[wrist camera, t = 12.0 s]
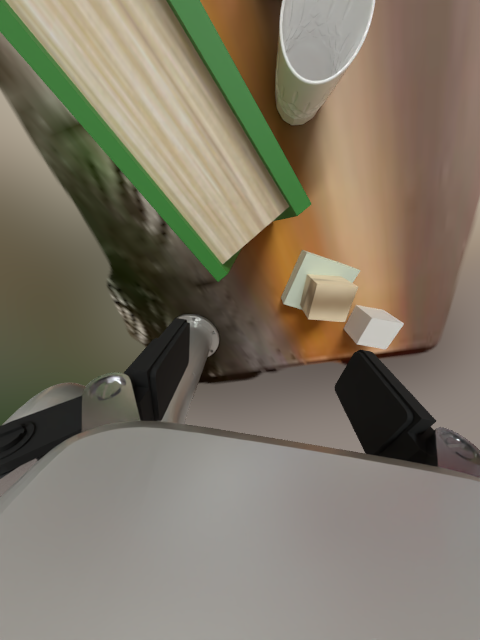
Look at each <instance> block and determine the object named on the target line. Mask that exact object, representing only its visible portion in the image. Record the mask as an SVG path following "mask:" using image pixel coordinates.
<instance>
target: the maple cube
mask: <svg viewBox="0 0 480 640" xmlns="http://www.w3.org/2000/svg"><path fill="white" fill-rule="evenodd" d="M357 289H358V286H356V285H354V284H353V283H351V282H350V281H348V280H346V279H345V278H343V277H342V276H330V275H314V274H307V276H306V281H305V285H304V289H303V294H302V298H301V303H300V306H301V307H302V309H303V311H304V313H305V315H306V317H307V318H308V319H312V320H325V321H338V322H345V320H346V318H347V315H348V313H349V310H350V307H351V305H352V302H353V299H354V297H355V294H356V291H357Z"/></svg>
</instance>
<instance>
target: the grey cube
mask: <svg viewBox="0 0 480 640" xmlns="http://www.w3.org/2000/svg"><path fill="white" fill-rule="evenodd" d="M403 324H404V323H402V322H401V321H399V320H398V319H396V318H395V317H393V316H392V315H390V314H389V313H387V312H386V311H384V310H381V309H375V308H370V307H364V306H359V305H356V306H355V308H354V310H353V312H352V313H351V315H350V317H349V319H348V321H347V323H346V325H345V327H344V330H345V331H346V332H347V334H348V335H349V336H350V337H351V338H352V339H353V341H354V342H355V343H356V344H358V345H364V346H369V347H375V348H381V349H387V347H388V346H389V345H390V343H391V342H392V340H393V339H394V337H395V336H396V335H397V333H398V332H399V330H400V329H401V327H402V326H403Z"/></svg>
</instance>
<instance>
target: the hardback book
mask: <svg viewBox="0 0 480 640" xmlns="http://www.w3.org/2000/svg"><path fill="white" fill-rule="evenodd" d="M0 32H1V33H2V34H3V35H4V36H5V38H6V39H7V40H8V41H9V42H10V43H11V44H12V46H13V47H14V48H15V49H16V50H17V51H18V53H19V54H20V55H21V56H22V57H23V58H24V59H25V61H26V62H27V63H28V64H29V65H30V66H31V67H32V69H33V70H34V71H35V72H36V73H37V74H38V76H39V77H40V78H41V79H42V80H43V81H44V82H45V84H46V85H47V86H48V87H49V88H50V89H51V90H52V92H53V93H54V94H55V95H56V96H57V97H58V99H59V100H60V101H61V102H62V103H63V104H64V105H65V107H66V108H67V109H68V110H69V111H70V112H71V114H72V115H73V116H74V117H75V118H76V119H77V120H78V122H79V123H80V124H81V125H82V126H83V127H84V128H85V130H86V131H87V132H88V133H89V134H90V135H91V137H92V138H93V139H94V140H95V141H96V142H97V143H98V145H99V146H100V147H101V148H102V149H103V150H104V151H105V153H106V154H107V155H108V156H109V157H110V158H111V160H112V161H113V162H114V163H115V164H116V165H117V166H118V168H119V169H120V170H121V171H122V172H123V173H124V174H125V176H126V177H127V178H128V179H129V180H130V181H131V183H132V184H133V185H134V186H135V187H136V188H137V189H138V191H139V192H140V193H141V194H142V195H143V196H144V197H145V199H146V200H147V201H148V202H149V203H150V204H151V206H152V207H153V208H154V209H155V210H156V211H157V212H158V214H159V215H160V216H161V217H162V218H163V219H164V221H165V222H166V223H167V224H168V225H169V226H170V227H171V229H172V230H173V231H174V232H175V233H176V234H177V235H178V237H179V238H180V239H181V240H182V241H183V242H184V244H185V245H186V246H187V247H188V248H189V249H190V250H191V252H192V253H193V254H194V255H195V256H196V257H197V258H198V260H199V261H200V262H201V263H202V264H203V265H204V267H205V268H206V269H207V270H208V271H209V272H210V273H211V275H212V276H213V277H214V278H215V279H216V280H217V281H218V282H219V281H220V280H221V279H222V278H223V277H225V276H226V275H227V274H228V272H229V271H230V269H231V267H232V265H233V263H234V262H235V260H236V258H237V256H238V254H239V253H240V251H241V249H242V247H243V246H244V245H246V244H247V243H248V242H249V241H250V240H251V239H253V238H254V237H255V236H256V235H257V234H258V233H259V232H261V231H262V230H263V229H264V228H265V227H266V226H267V225H269V224H270V223H271V222H272V221H276V220H281V219H285V218H290V217H295V216H298V215H299V214H300V213H301V212H303V211H304V210H305V209H306V208H307V207H309V206H310V205H311V202H310V200H309V198H308V197H307V195H306V193H305V191H304V189H303V188H302V186H301V184H300V182H299V180H298V178H297V177H296V175H295V173H294V171H293V169H292V168H291V166H290V164H289V162H288V160H287V158H286V157H285V155H284V153H283V151H282V149H281V148H280V146H279V144H278V142H277V140H276V138H275V137H274V135H273V133H272V131H271V129H270V127H269V126H268V124H267V122H266V120H265V118H264V117H263V115H262V113H261V111H260V109H259V107H258V106H257V104H256V102H255V100H254V98H253V97H252V95H251V93H250V91H249V89H248V87H247V86H246V84H245V82H244V80H243V78H242V77H241V75H240V73H239V71H238V69H237V67H236V66H235V64H234V62H233V60H232V58H231V57H230V55H229V53H228V51H227V49H226V47H225V46H224V44H223V42H222V40H221V38H220V36H219V35H218V33H217V31H216V29H215V27H214V26H213V24H212V22H211V20H210V18H209V16H208V15H207V13H206V11H205V9H204V7H203V6H202V4H201V2H200V0H0Z"/></svg>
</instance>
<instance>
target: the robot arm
mask: <svg viewBox="0 0 480 640" xmlns="http://www.w3.org/2000/svg"><path fill="white" fill-rule="evenodd" d="M218 345H219V334H218V331H217V329H216V327H215V326H214V325H213V324H212V323H211V322H210V321H209V320H208V319H206V318H204V317H202V316H199V315H195V314H185V315H181V316H179V317H177V318H175V319H174V320H173V321H172V323H171V324H170V325H169V326H168V327H167V328H166V330H165V331H164V332H163V333H162V334H161V336H160V337H159V338H155V339H153V340H152V341H151V343H150V344H149V345H148V346H147V347H146V348H145V349H144V351H143V352H142V353H141V354H140V355H139V356H138V357H137V358H136V360H135V361H134V362H133V363H132V364H131V365H130V366H129V367H128V369H127V370H126V371H125V372H124V373H109V374H105V375H102V376H99V377H98V378H96V379H94V380H92V381H91V382H90V383H89V384H88V385H87V386H86V387H85V386H83V385H79V384H76V383H62V384H58V385H54V386H52V387H49V388H48V389H45V390H44V391H42V392H40V393H39V394H37V395H36V396H35V397H33V398H32V399H30V400H29V401H28V402H27V403H25V404H24V405H23V406H22V407H21V408H20V409H18V410H17V411H16V412H15V413H14V414H13V415H12V416H11V417H10V418H9V419H8V420H7V421H6V422H5V423H4V424H3V425H2V426H0V640H480V450H479V449H478V448H477V447H476V446H475V445H474V444H472V443H471V442H470V441H468V440H467V439H466V438H464V437H463V436H461V435H459V434H458V433H456V432H454V431H452V430H449V429H446V428H441V427H439V428H437V429H435V430H433V429H432V428H431V425H433V424H434V423H435V422H436V420H435V419H434V418H433V417H432V416H431V415H430V414H429V413H428V411H426V409H425V408H424V407H423V406H422V405H421V404H420V403H419V402H418V401H417V400H416V399H415V397H414V396H413V395H412V394H411V393H410V392H409V391H408V390H407V389H406V388H405V387H404V386H403V385H402V384H401V382H400V381H399V380H398V379H397V378H396V377H395V376H394V375H393V374H392V373H391V372H390V370H389V369H387V367H386V366H385V365H384V364H383V363H382V362H381V361H380V360H379V359H378V358H377V356H376V355H375V354H374V353H373V352H370V351H365V350H358V351H357V352H355V353H354V354H353V356H352V357H351V359H350V361H349V363H348V364H347V366H346V368H345V370H344V371H343V373H342V374H341V376H340V378H339V380H338V381H337V383H336V385H335V391H336V393H337V395H338V398H339V400H340V402H341V404H342V406H343V408H344V410H345V412H346V414H347V416H348V418H349V420H350V422H351V424H352V426H353V429H354V431H355V432H356V435H357V437H358V439H359V441H360V443H361V445H362V447H363V449H364V451H365V453H366V454H363V453H358V452H352V451H346V450H341V449H334V448H329V447H323V446H317V445H311V444H305V443H299V442H293V441H287V440H281V439H275V438H269V437H263V436H257V435H250V434H244V433H238V432H232V431H226V430H220V429H213V428H206V427H199V426H193V425H186V424H184V423H185V420H186V416H187V413H188V410H189V407H190V404H191V401H192V399H193V395H194V393H195V390H196V388H197V385H198V382H199V379H200V376H201V374H202V371H203V368H204V365H205V362H206V360H207V357H208V356H210V355H212V354H213V353H214V352H215V351H216V349H217V347H218Z"/></svg>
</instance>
